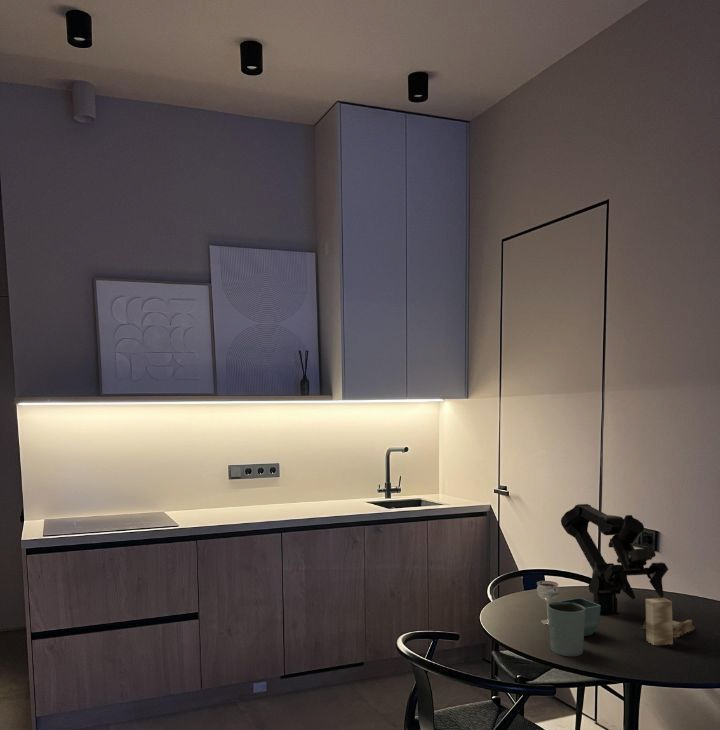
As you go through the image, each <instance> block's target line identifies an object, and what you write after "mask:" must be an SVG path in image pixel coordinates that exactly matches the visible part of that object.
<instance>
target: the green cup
mask: <svg viewBox="0 0 720 730" xmlns="http://www.w3.org/2000/svg"><path fill="white" fill-rule="evenodd" d="M547 607H548V616H547V618H548V617H549V625H548V626H549V627H548V628H549V630H548V631H549V638H550V649H551V651H552V653H554V654H557V655H559V656H564V657H578V656H581V655H583V652H584V638H585V636H584V620H585V607H584V606H582V605H579V604H576V603H570V602H559V601H551V602H549V604H548V605H547V604H546V608H547Z"/></svg>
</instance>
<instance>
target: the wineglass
mask: <svg viewBox="0 0 720 730" xmlns="http://www.w3.org/2000/svg"><path fill="white" fill-rule="evenodd" d="M536 585H537V587H536V593H537V595H538V596H539V597H540V599H542V600H544V601H545V602H546V612H547V613H546V614H547V615H546V616H547V619H543V620H540V621H541V622H542V623H543V624H542V623H541V624H542V625H545V624H548V625H547V626H549V617H548V607H547V605H548V604H549V603H552V601H554V600H555V599H557V598H558V596H559V593H560V589H559V582H556V581H551V580H539V581H537V582H536Z"/></svg>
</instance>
